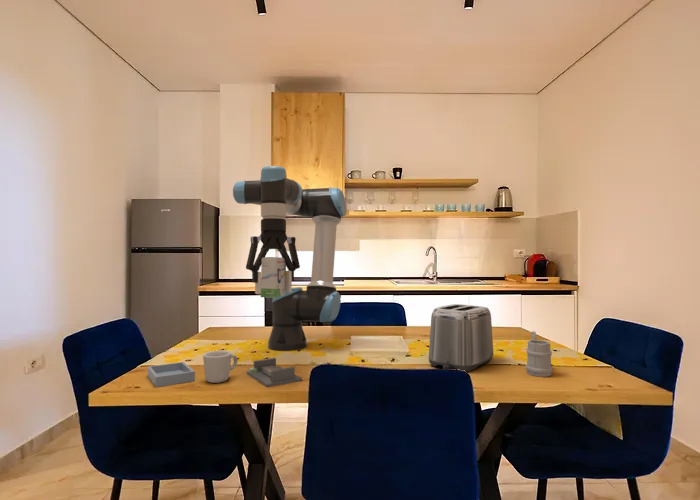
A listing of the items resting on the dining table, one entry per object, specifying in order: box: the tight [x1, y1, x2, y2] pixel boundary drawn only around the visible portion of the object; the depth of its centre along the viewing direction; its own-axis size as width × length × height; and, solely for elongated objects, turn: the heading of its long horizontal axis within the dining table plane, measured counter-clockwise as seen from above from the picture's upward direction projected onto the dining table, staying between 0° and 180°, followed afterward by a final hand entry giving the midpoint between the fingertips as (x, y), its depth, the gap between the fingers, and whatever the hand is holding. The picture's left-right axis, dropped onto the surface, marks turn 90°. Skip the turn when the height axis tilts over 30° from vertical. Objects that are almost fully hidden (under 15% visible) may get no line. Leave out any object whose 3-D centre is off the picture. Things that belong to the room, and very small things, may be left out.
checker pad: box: [261, 365, 279, 377], centre depth 132 cm, size 4×10×1 cm, turn 34°
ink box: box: [260, 256, 287, 299], centre depth 132 cm, size 9×5×12 cm, turn 169°
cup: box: [202, 350, 238, 384], centre depth 130 cm, size 11×8×8 cm
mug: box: [525, 330, 554, 378], centre depth 138 cm, size 8×12×12 cm, turn 172°
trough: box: [146, 361, 196, 388], centre depth 131 cm, size 11×14×3 cm
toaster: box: [428, 303, 494, 373], centre depth 148 cm, size 17×30×19 cm, turn 140°
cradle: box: [246, 357, 303, 388], centre depth 132 cm, size 11×16×4 cm
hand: (273, 292), depth 132 cm, fingers closed on ink box, 9 cm apart
